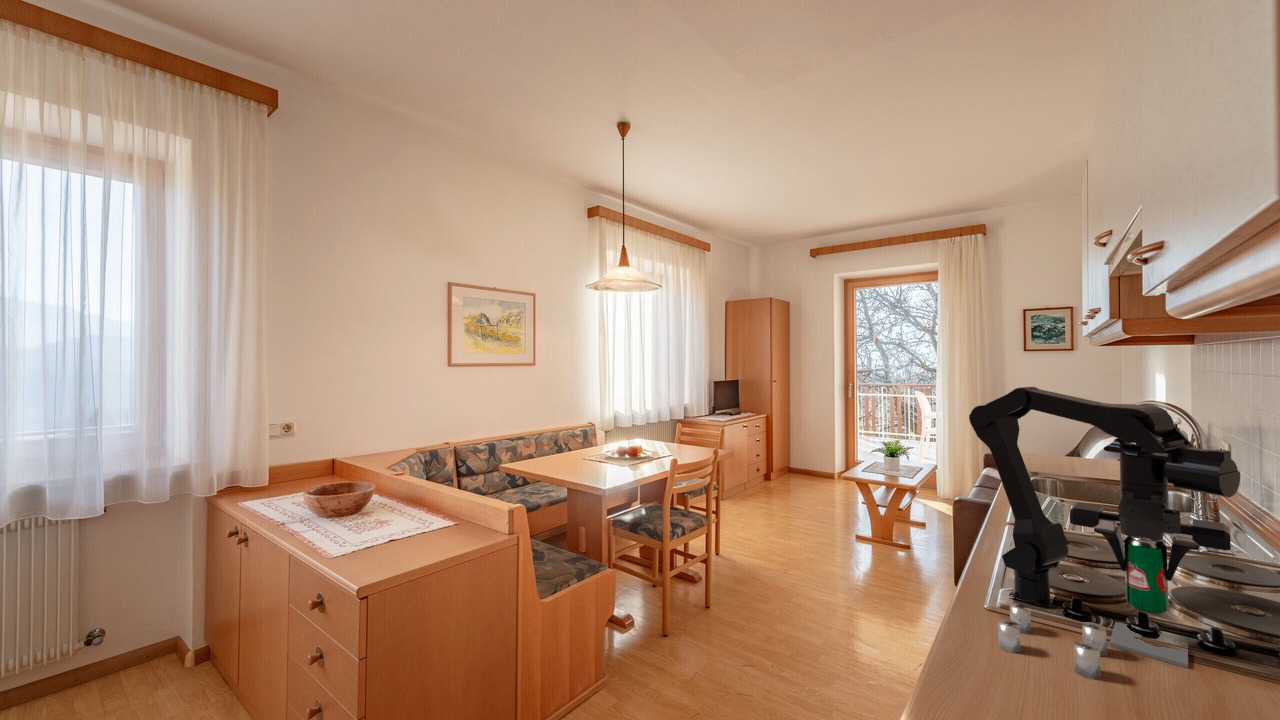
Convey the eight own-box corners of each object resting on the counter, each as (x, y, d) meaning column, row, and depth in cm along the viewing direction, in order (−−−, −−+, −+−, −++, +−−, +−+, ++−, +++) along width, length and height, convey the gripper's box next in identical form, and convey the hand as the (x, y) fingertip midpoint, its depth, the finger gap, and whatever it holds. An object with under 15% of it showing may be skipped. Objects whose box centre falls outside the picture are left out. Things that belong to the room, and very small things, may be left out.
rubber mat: (1115, 625, 92) (1115, 621, 92) (1188, 644, 86) (1188, 640, 86) (1109, 645, 86) (1109, 642, 86) (1188, 668, 80) (1187, 664, 80)
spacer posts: (1012, 622, 94) (1011, 600, 94) (1108, 650, 85) (1107, 626, 85) (996, 647, 87) (995, 623, 87) (1099, 681, 77) (1098, 654, 77)
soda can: (1117, 600, 89) (1116, 531, 89) (1149, 600, 88) (1148, 531, 88) (1143, 615, 84) (1141, 542, 84) (1177, 615, 83) (1175, 542, 83)
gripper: (1062, 482, 87) (1065, 574, 87) (1230, 504, 73) (1233, 612, 74) (1073, 470, 95) (1076, 554, 95) (1228, 487, 81) (1230, 586, 81)
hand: (1145, 575), depth 86 cm, fingers closed on soda can, 5 cm apart
